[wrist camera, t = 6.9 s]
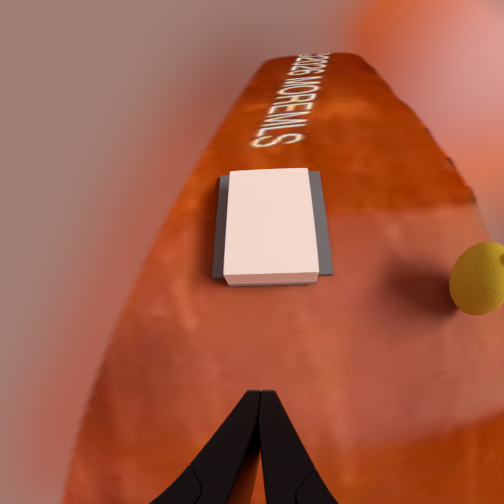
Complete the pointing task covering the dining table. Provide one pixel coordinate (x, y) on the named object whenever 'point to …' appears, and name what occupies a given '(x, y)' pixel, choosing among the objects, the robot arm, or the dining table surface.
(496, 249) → the lemon
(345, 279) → the dining table surface
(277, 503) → the robot arm
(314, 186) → the mat
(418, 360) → the dining table surface
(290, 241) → the white rectangular block
